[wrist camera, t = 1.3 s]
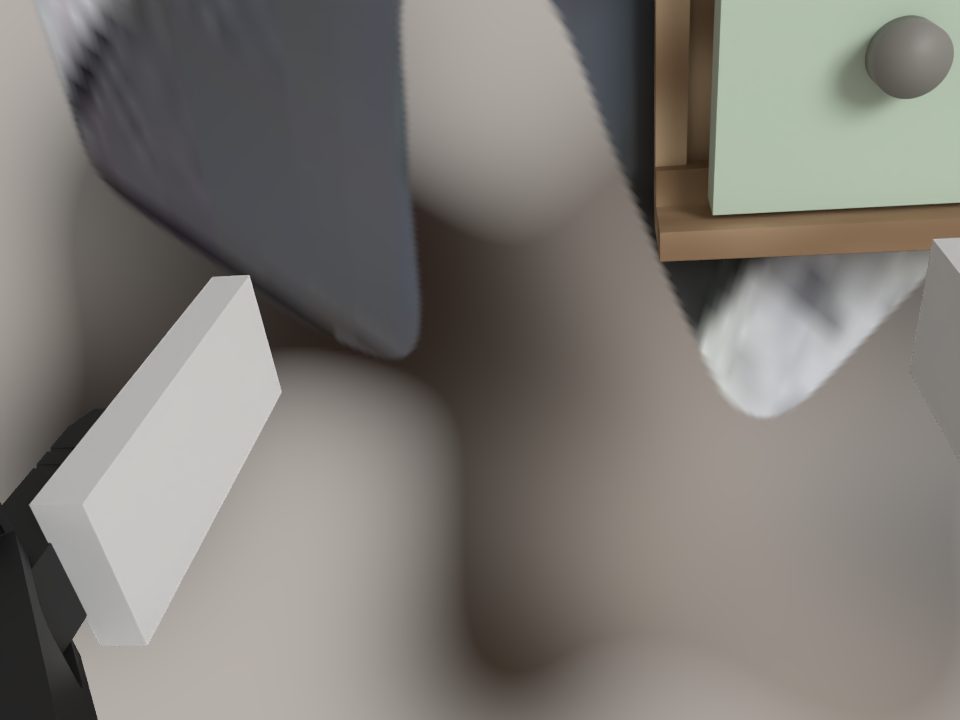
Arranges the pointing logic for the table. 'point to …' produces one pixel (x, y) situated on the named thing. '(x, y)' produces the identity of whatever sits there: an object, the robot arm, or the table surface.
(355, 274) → the table surface
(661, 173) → the oak box
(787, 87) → the cover plate
